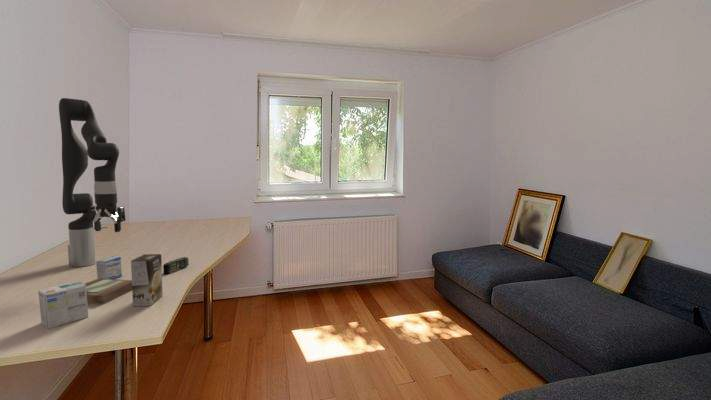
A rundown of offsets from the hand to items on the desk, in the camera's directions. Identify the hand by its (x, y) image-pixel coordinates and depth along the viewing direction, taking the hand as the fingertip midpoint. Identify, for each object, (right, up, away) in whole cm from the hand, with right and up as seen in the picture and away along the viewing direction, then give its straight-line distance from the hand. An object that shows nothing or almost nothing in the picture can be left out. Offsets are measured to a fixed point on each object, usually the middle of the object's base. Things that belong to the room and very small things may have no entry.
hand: (107, 231), depth 151 cm
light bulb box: (+11, -25, -36) cm, 45 cm away
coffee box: (+28, -23, -20) cm, 42 cm away
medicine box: (-1, -20, +2) cm, 20 cm away
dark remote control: (+21, -19, +16) cm, 33 cm away
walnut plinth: (+8, -22, -15) cm, 28 cm away
